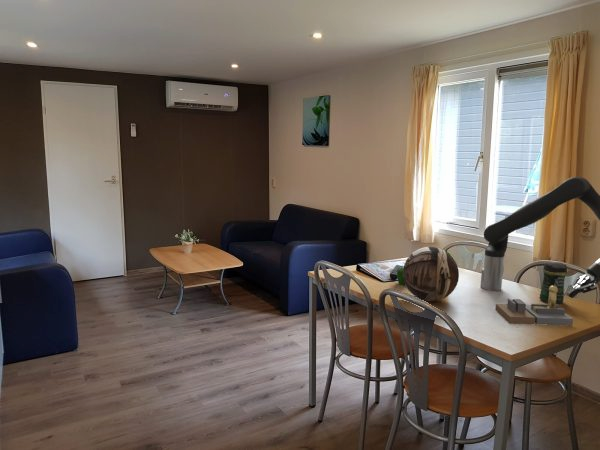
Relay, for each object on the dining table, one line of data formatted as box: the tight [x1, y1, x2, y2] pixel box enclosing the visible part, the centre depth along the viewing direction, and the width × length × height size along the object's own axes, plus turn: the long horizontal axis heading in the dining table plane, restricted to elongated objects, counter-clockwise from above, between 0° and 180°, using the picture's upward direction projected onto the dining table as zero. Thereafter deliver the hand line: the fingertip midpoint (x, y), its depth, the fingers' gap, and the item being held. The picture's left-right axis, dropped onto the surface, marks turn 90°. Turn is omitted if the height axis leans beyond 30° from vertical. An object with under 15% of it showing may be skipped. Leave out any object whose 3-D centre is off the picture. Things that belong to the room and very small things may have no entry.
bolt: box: [533, 286, 558, 312], centre depth 196 cm, size 9×3×11 cm, turn 87°
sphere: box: [402, 246, 460, 302], centre depth 216 cm, size 25×25×25 cm
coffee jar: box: [539, 262, 568, 304], centre depth 217 cm, size 10×8×19 cm
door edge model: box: [494, 298, 574, 326], centre depth 197 cm, size 25×16×7 cm, turn 87°
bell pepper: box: [396, 267, 406, 286], centre depth 242 cm, size 8×8×10 cm
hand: (569, 296), depth 195 cm, fingers closed
